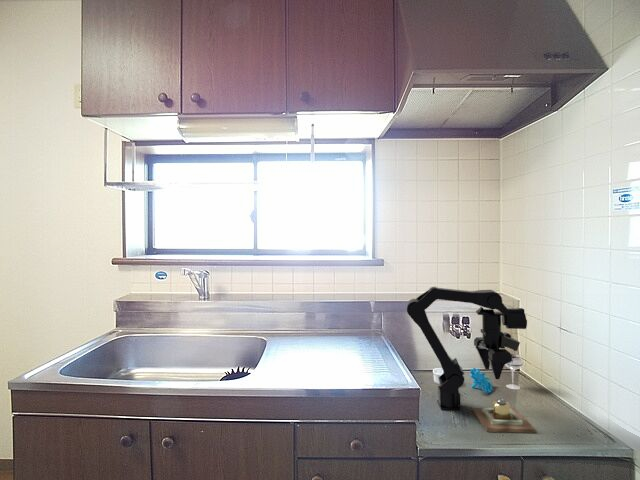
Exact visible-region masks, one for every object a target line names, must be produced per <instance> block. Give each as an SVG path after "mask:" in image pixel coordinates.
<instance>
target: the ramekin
mask: <svg viewBox="0 0 640 480" xmlns="http://www.w3.org/2000/svg"><path fill="white" fill-rule="evenodd" d="M432 373H433V382H434V383H435V384H437V385H438V386H440V382H439V377H440V376H441V375H442V374H443V373H444V372H443V369H442V367H438V368H437V367H436V368H433V370H432Z"/></svg>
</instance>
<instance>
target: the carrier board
mask: <svg viewBox="0 0 640 480" xmlns="http://www.w3.org/2000/svg"><path fill="white" fill-rule="evenodd" d="M471 411H472V412H473V414H474V415H475V417H476V418H477V420H478V421H479V423H480V424H481V425H482V427H483V428H484V429H485V431H486V432H490V433H491V432H493V433H494V432H495V433H527V434H528V433H532V434H534V433H535V434H536V428H535V427H534V426H533V425H532V424H531V423H530V422H529V421H528V420H527V419H526V418H525V417H524V416H523V415H522V414H521V413H520V412H519V411H518V409H516V408H515V407H510V415H511V419H510V420H497V419H495V418H494V417H493V407H476V406H475V407H472V408H471Z"/></svg>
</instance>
